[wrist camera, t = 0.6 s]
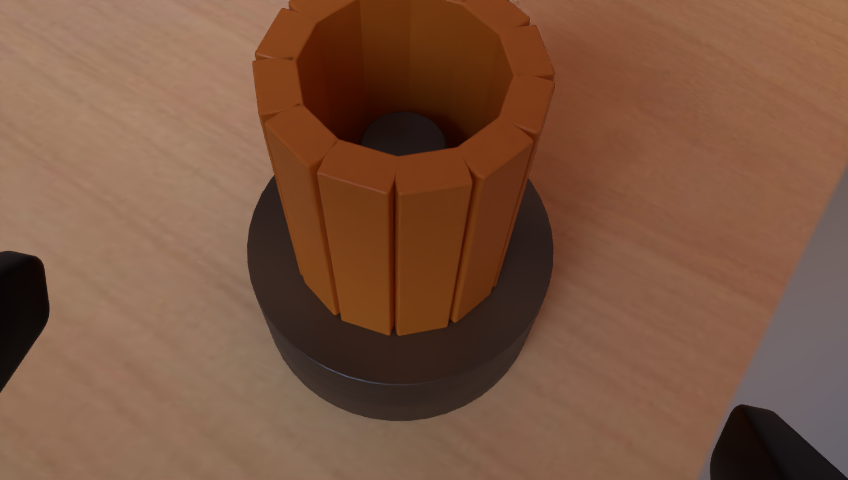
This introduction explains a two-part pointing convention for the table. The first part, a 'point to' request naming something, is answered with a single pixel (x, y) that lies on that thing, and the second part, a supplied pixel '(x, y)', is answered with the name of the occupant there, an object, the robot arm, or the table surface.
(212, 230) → the table surface
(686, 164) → the table surface
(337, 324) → the stake stand
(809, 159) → the table surface
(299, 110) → the orange slatted cup
